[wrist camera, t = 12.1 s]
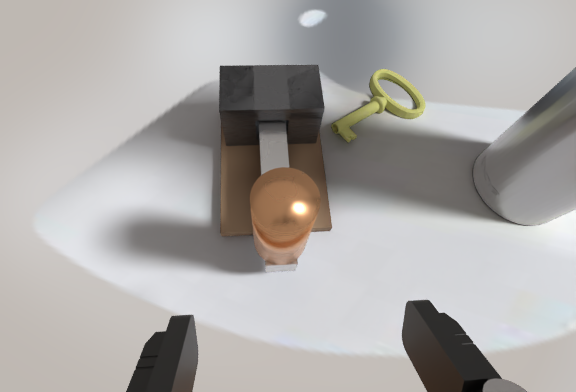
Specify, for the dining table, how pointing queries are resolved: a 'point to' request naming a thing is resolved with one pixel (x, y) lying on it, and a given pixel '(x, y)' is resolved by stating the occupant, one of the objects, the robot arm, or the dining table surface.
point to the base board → (247, 169)
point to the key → (380, 104)
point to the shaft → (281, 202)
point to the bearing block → (270, 102)
